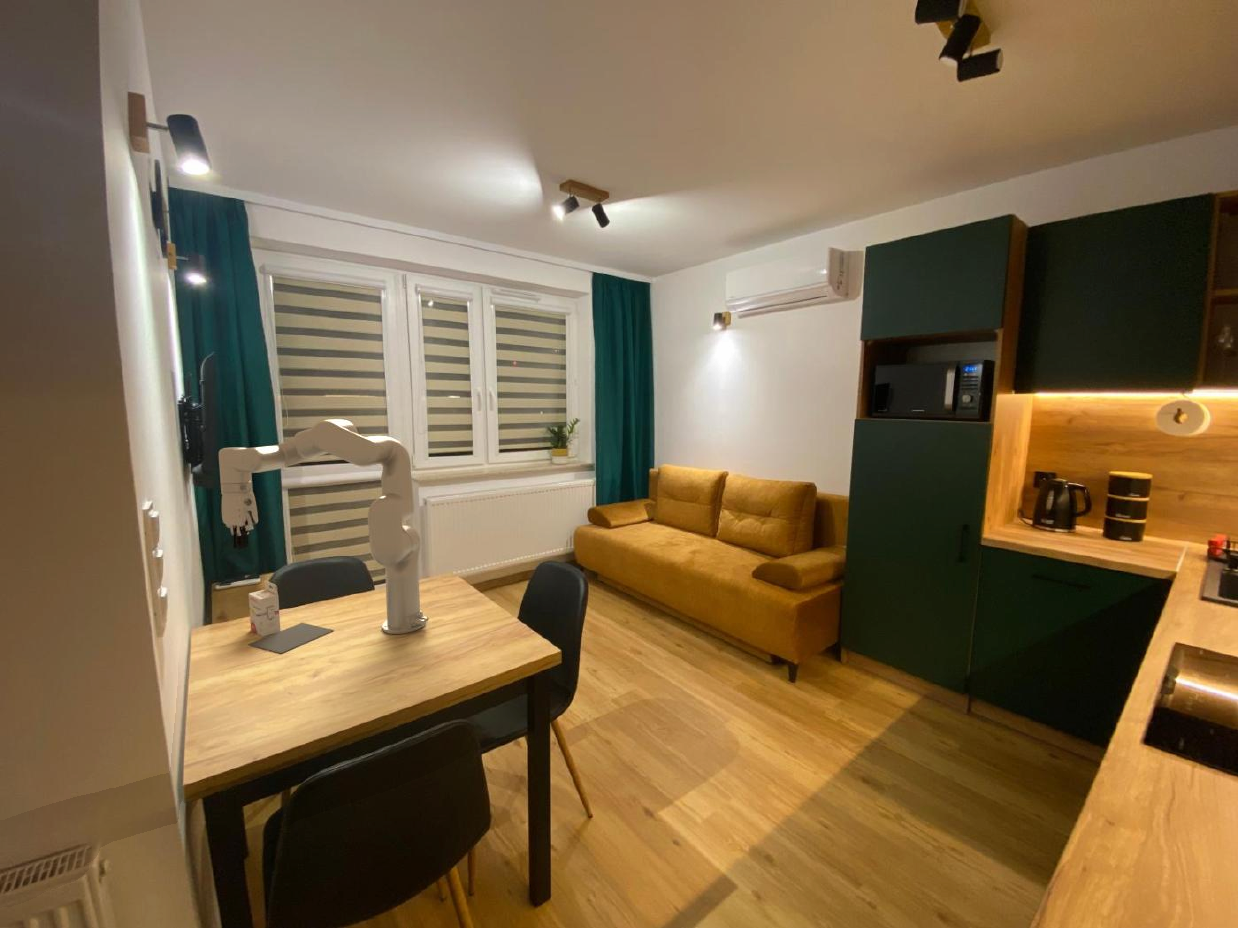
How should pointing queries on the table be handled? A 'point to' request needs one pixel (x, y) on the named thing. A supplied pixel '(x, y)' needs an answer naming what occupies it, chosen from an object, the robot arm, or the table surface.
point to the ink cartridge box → (265, 610)
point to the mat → (291, 638)
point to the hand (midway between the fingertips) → (241, 547)
